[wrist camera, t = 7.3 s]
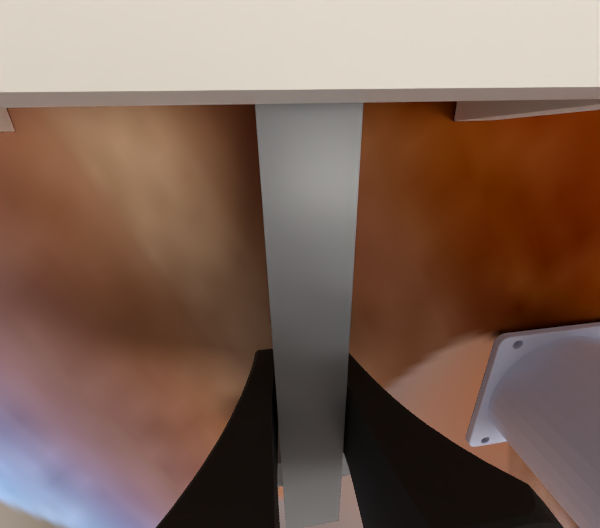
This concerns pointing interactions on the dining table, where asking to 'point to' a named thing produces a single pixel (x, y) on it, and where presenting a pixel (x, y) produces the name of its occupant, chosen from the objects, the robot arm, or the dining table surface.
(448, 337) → the dining table surface
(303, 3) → the low bench
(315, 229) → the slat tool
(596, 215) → the dining table surface
